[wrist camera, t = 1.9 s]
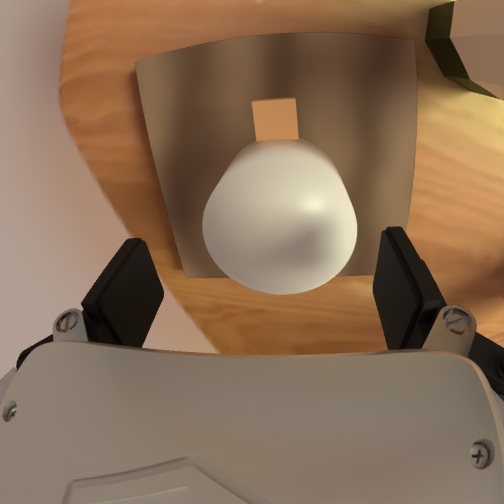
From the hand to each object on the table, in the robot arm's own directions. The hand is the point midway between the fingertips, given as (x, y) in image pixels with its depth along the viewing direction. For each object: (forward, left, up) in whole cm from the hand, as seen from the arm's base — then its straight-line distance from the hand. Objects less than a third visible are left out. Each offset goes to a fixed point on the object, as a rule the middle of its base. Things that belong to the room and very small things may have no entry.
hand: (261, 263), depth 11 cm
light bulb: (-1, -1, -7) cm, 7 cm away
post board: (-1, 0, -14) cm, 14 cm away
